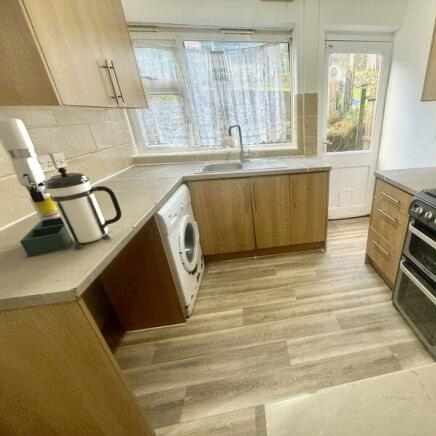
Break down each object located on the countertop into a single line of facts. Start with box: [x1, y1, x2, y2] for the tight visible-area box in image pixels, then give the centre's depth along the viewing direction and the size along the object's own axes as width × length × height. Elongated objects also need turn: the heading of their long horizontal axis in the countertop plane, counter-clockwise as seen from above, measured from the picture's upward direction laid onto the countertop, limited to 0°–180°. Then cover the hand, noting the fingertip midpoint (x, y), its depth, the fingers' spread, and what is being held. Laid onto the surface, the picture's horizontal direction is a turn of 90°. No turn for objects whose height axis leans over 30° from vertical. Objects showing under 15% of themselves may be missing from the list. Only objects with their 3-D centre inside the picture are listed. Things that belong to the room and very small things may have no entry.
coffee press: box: [42, 167, 122, 250], centre depth 95 cm, size 17×16×30 cm
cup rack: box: [19, 216, 72, 257], centre depth 100 cm, size 11×21×6 cm, turn 29°
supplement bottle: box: [28, 186, 61, 220], centre depth 99 cm, size 7×7×13 cm
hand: (42, 198), depth 98 cm, fingers closed on supplement bottle, 6 cm apart
